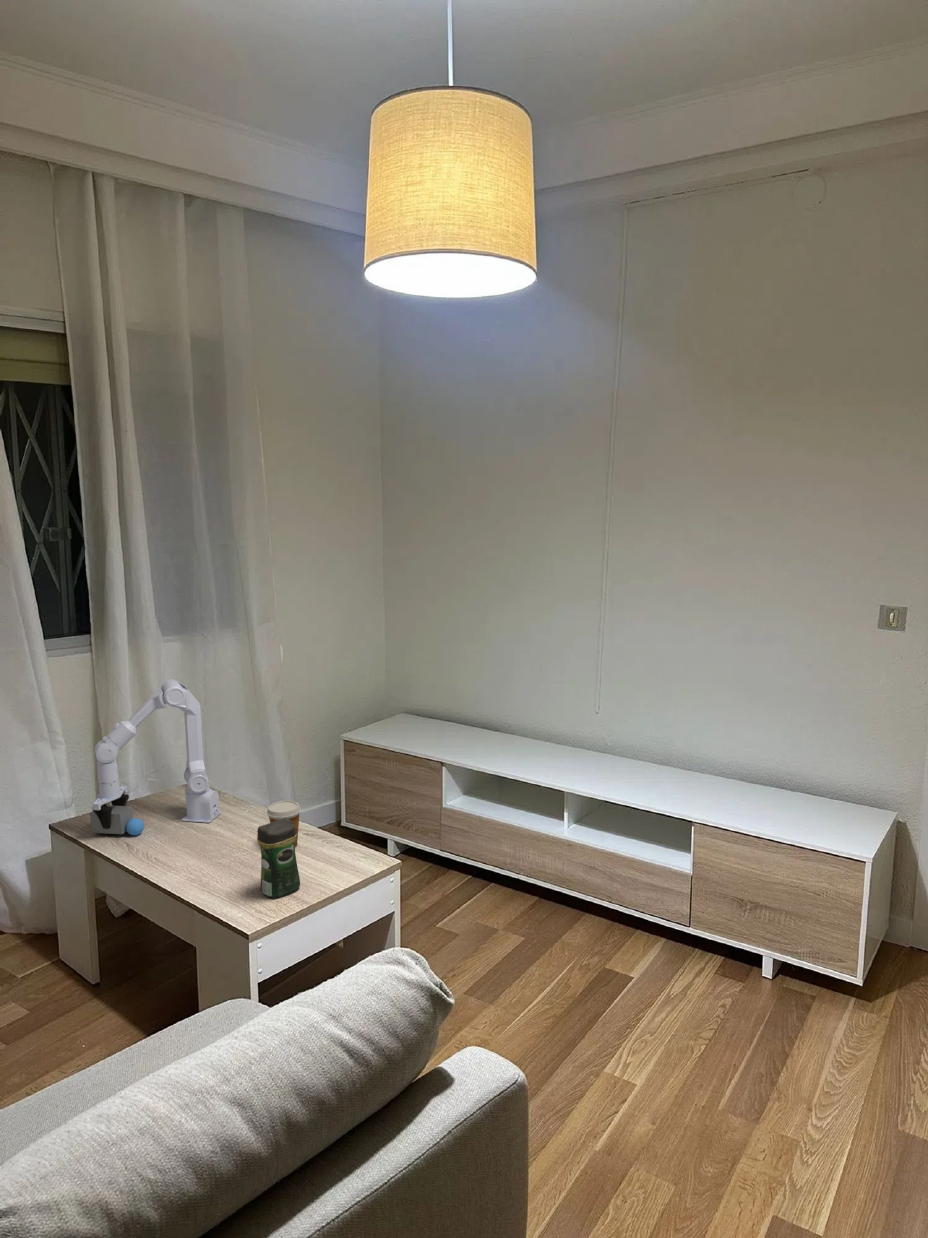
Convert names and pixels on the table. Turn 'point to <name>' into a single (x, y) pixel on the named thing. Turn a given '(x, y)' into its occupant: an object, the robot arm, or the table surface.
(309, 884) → the table surface
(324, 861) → the table surface
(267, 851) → the coffee jar
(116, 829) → the grey rectangular box
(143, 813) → the table surface
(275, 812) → the disposable coffee cup
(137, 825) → the ball
